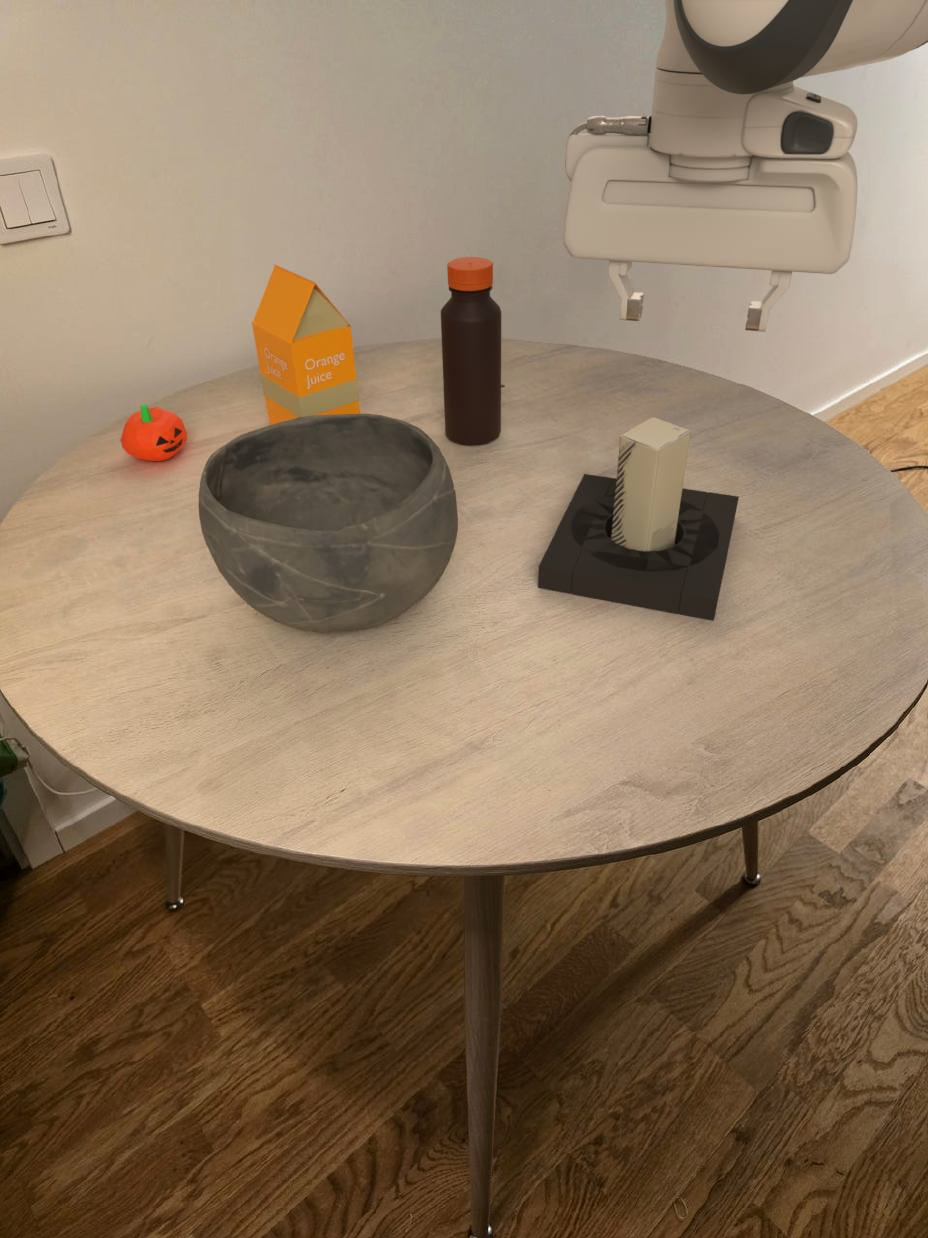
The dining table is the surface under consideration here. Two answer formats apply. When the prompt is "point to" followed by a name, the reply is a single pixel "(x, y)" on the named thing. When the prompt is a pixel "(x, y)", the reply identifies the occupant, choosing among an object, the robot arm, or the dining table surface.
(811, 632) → the dining table surface
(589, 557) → the pad
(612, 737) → the dining table surface
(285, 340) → the orange juice
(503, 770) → the dining table surface
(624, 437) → the box
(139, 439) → the pumpkin
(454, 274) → the bottle
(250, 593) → the bowl
